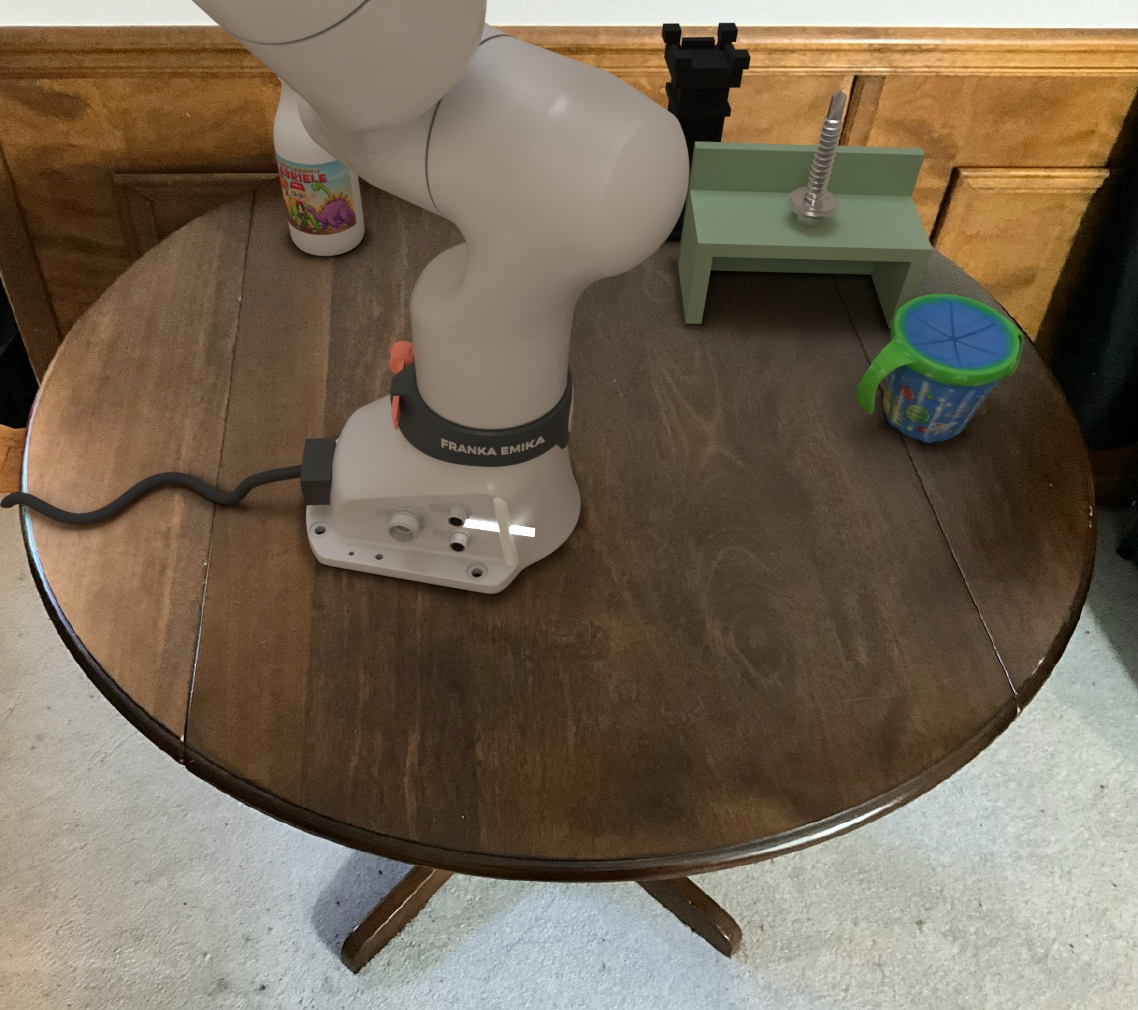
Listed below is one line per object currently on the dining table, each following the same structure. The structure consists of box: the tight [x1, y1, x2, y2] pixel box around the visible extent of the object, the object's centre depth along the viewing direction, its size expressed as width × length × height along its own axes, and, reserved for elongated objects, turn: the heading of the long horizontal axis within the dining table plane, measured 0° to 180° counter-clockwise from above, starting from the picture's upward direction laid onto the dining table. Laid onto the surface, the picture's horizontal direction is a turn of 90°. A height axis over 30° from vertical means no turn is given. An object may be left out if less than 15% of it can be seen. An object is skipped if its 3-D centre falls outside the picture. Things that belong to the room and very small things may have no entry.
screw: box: [787, 90, 848, 229], centre depth 94 cm, size 13×5×5 cm
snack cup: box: [855, 293, 1025, 444], centre depth 92 cm, size 16×11×10 cm
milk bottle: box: [272, 76, 365, 257], centre depth 103 cm, size 8×8×20 cm
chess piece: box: [661, 22, 751, 242], centre depth 107 cm, size 8×8×20 cm
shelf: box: [677, 141, 933, 329], centre depth 102 cm, size 22×10×14 cm, turn 91°
